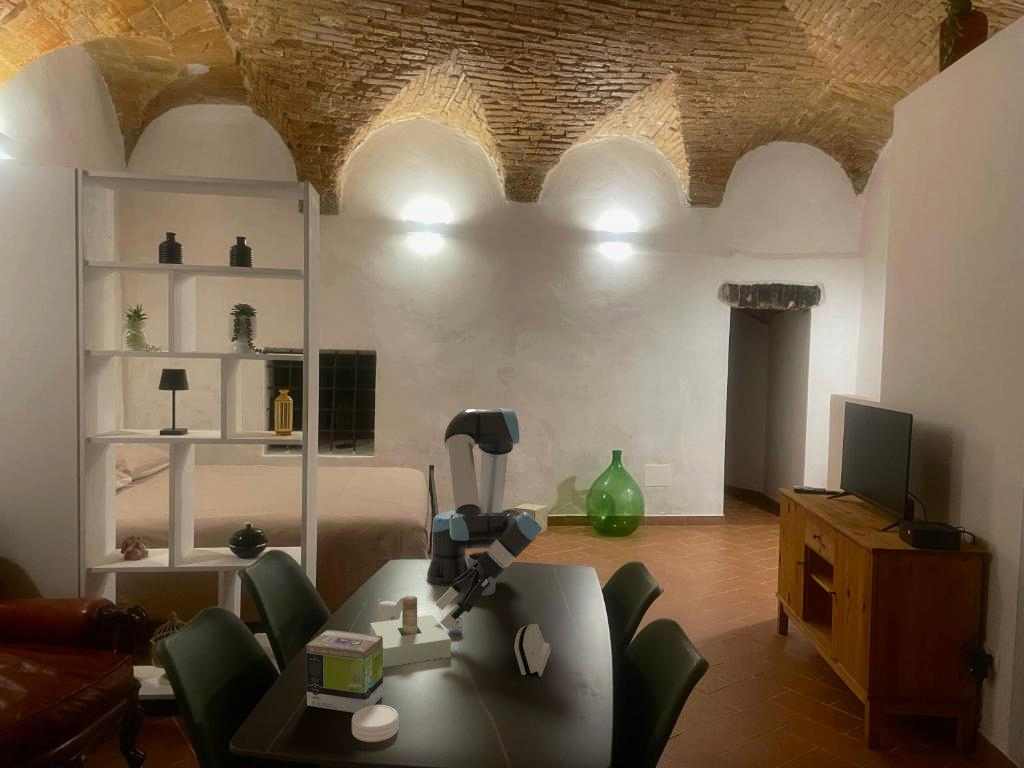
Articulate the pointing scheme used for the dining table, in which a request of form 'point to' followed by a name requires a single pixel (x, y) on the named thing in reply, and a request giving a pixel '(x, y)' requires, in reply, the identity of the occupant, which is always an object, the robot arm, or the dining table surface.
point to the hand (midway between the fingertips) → (441, 616)
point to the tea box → (344, 670)
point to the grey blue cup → (491, 588)
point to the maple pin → (409, 615)
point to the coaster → (375, 723)
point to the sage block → (412, 641)
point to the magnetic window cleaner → (531, 649)
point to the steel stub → (456, 627)
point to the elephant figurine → (389, 609)
